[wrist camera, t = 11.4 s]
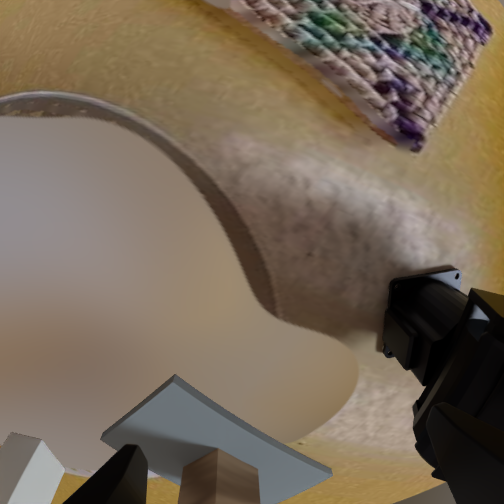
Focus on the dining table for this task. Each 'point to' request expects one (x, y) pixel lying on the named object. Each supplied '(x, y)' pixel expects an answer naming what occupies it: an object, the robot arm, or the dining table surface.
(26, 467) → the milk
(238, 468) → the marked block
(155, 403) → the mat
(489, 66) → the dining table surface
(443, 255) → the dining table surface
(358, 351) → the dining table surface
